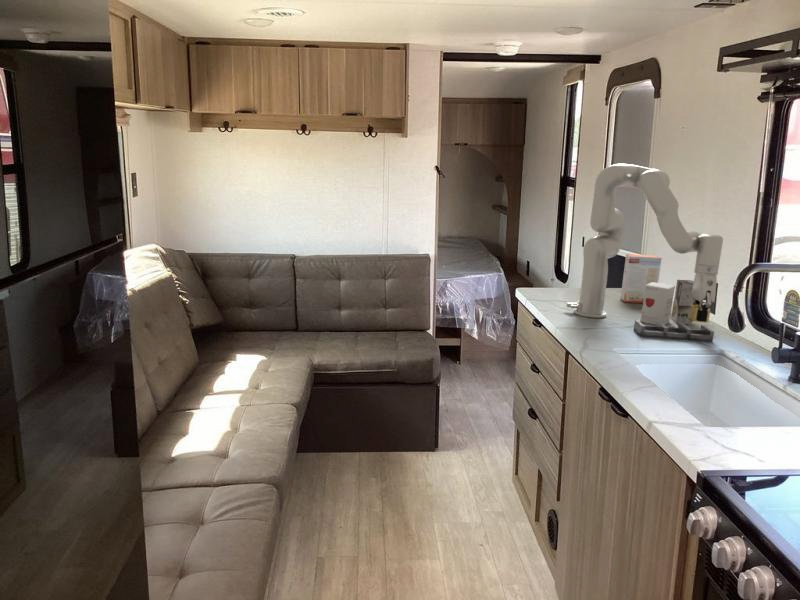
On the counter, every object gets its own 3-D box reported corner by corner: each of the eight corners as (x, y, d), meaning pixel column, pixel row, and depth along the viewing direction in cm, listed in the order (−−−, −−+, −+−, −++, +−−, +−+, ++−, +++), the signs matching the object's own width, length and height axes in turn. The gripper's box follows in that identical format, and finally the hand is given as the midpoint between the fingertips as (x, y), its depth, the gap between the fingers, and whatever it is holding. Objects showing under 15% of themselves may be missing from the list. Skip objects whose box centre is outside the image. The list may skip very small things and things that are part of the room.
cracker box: (650, 301, 290) (657, 255, 285) (655, 304, 284) (662, 257, 279) (619, 299, 290) (625, 253, 285) (623, 302, 284) (630, 255, 280)
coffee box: (692, 325, 252) (699, 284, 248) (675, 323, 253) (681, 283, 249) (687, 319, 260) (694, 280, 256) (670, 317, 261) (676, 278, 258)
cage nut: (708, 322, 229) (710, 307, 227) (693, 321, 229) (696, 306, 228) (703, 318, 233) (705, 303, 232) (688, 318, 234) (691, 303, 233)
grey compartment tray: (640, 336, 230) (641, 326, 229) (633, 330, 239) (635, 319, 238) (712, 342, 228) (714, 331, 227) (702, 335, 237) (704, 324, 236)
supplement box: (639, 321, 252) (644, 284, 248) (646, 317, 259) (651, 281, 255) (663, 326, 246) (669, 288, 243) (669, 322, 253) (675, 285, 250)
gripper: (727, 274, 219) (718, 326, 223) (708, 266, 235) (700, 314, 239) (704, 273, 219) (696, 324, 223) (687, 264, 236) (679, 312, 240)
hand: (698, 318), depth 231 cm, fingers closed on cage nut, 5 cm apart
